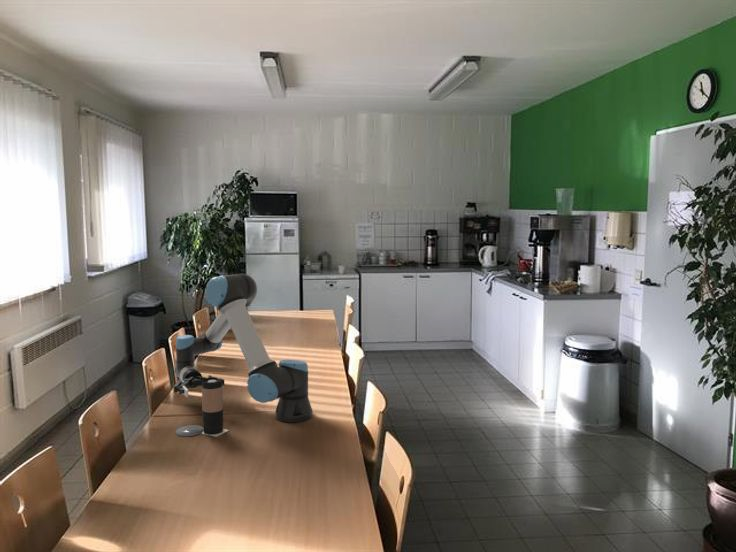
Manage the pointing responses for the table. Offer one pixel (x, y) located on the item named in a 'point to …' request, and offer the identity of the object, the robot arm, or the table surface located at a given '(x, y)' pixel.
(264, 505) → the table surface
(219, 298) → the robot arm
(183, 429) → the slate coaster
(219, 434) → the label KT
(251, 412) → the table surface
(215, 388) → the travel mug
